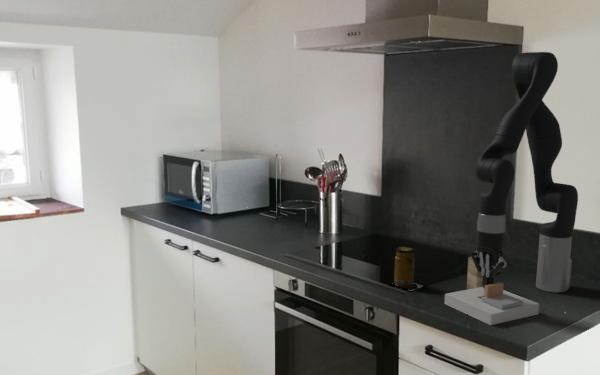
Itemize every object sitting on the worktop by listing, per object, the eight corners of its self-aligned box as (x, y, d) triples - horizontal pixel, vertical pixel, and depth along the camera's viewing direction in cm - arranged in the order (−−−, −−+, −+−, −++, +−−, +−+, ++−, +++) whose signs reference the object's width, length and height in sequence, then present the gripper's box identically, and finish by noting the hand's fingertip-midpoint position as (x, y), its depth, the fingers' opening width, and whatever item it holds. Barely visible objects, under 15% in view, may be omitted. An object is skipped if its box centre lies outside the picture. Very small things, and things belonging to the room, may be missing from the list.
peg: (476, 286, 190) (478, 255, 188) (485, 289, 186) (487, 258, 185) (466, 288, 188) (468, 257, 186) (475, 291, 184) (477, 260, 183)
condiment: (401, 280, 195) (402, 244, 193) (423, 286, 189) (425, 249, 187) (388, 285, 189) (389, 248, 188) (411, 292, 184) (412, 254, 182)
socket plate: (490, 294, 182) (490, 285, 181) (538, 314, 166) (539, 303, 166) (444, 303, 173) (444, 293, 173) (490, 325, 158) (491, 314, 157)
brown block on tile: (502, 296, 171) (502, 282, 170) (523, 304, 164) (524, 289, 164) (481, 300, 167) (481, 285, 167) (501, 309, 161) (502, 294, 160)
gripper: (519, 232, 163) (514, 293, 166) (484, 223, 175) (480, 280, 178) (498, 235, 160) (494, 297, 163) (464, 225, 172) (461, 283, 174)
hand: (487, 288), depth 170 cm, fingers closed
